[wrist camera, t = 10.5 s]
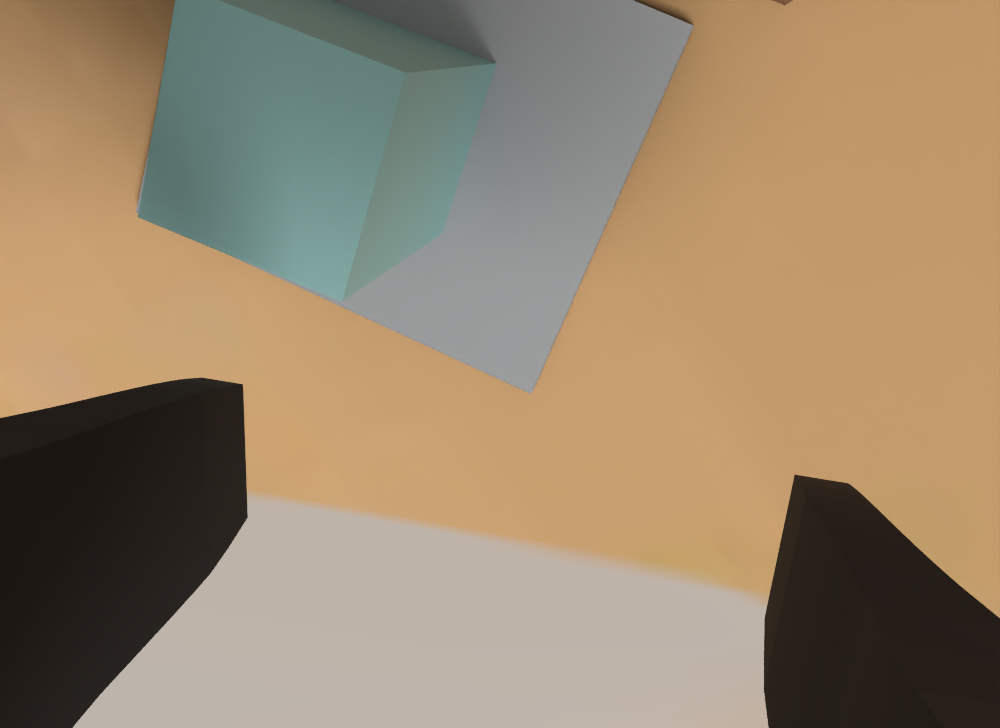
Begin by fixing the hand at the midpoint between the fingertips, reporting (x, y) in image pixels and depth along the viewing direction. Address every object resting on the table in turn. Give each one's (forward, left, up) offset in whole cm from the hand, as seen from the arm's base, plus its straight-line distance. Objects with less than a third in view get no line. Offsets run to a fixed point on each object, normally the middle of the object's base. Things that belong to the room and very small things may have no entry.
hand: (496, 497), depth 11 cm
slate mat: (+6, -2, -10) cm, 12 cm away
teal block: (+6, -2, -10) cm, 12 cm away
